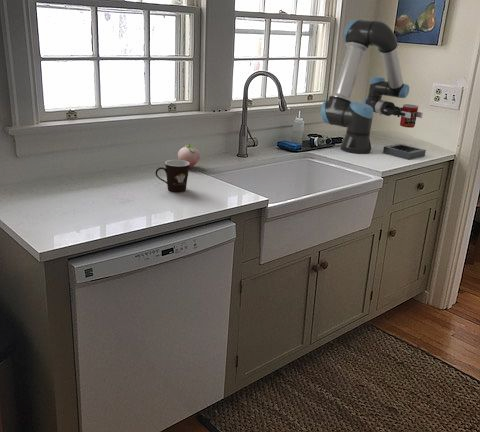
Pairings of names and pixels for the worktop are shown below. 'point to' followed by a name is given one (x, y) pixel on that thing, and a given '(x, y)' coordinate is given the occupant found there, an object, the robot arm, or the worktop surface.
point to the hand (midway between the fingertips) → (416, 115)
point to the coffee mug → (176, 175)
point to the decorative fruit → (189, 155)
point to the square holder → (404, 151)
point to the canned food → (411, 121)
